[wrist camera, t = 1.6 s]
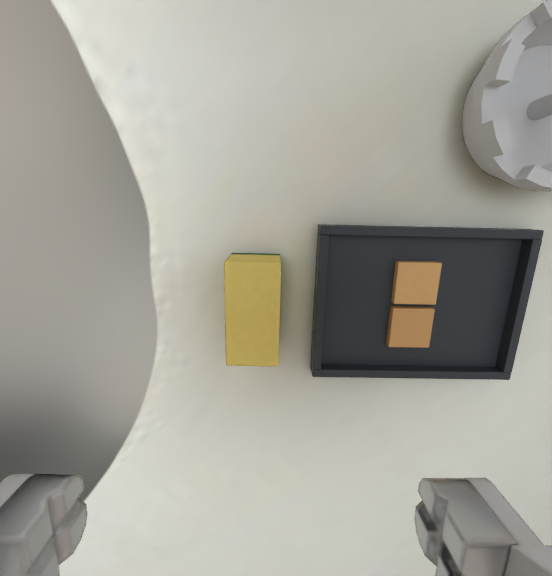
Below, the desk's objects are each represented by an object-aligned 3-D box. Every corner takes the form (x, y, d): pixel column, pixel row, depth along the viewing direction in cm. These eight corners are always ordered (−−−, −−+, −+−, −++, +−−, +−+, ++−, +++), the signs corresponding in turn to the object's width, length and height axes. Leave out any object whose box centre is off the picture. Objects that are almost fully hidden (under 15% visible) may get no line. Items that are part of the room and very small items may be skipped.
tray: (318, 224, 29) (321, 225, 27) (528, 229, 29) (544, 230, 28) (310, 368, 33) (312, 377, 31) (497, 370, 33) (509, 380, 31)
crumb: (390, 305, 30) (393, 308, 30) (431, 306, 30) (435, 309, 30) (385, 343, 31) (388, 347, 31) (425, 344, 31) (429, 348, 31)
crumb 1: (395, 260, 29) (398, 261, 29) (438, 261, 29) (442, 262, 29) (390, 301, 30) (393, 304, 30) (431, 302, 30) (435, 304, 30)
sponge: (232, 252, 30) (224, 261, 25) (279, 253, 30) (281, 262, 25) (233, 341, 32) (226, 365, 27) (277, 342, 32) (278, 366, 27)
